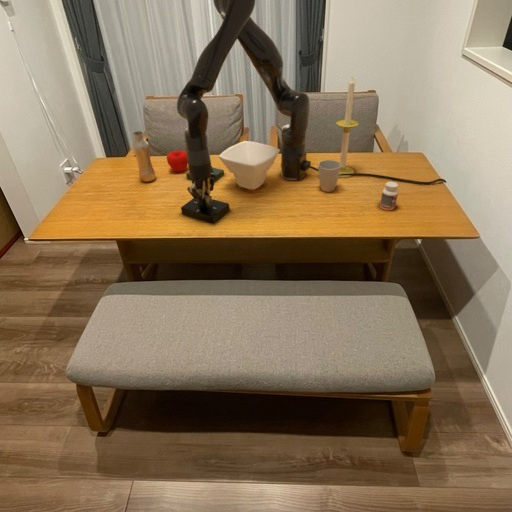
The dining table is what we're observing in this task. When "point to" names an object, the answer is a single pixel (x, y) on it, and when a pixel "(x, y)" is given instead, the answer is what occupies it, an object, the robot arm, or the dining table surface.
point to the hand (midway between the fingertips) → (205, 205)
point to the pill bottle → (389, 196)
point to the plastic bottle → (143, 157)
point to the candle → (347, 130)
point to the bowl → (249, 162)
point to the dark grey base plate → (217, 172)
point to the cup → (328, 174)
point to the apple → (177, 160)
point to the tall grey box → (207, 201)
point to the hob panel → (205, 211)
